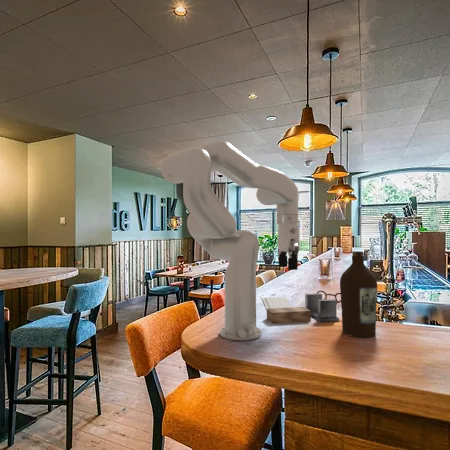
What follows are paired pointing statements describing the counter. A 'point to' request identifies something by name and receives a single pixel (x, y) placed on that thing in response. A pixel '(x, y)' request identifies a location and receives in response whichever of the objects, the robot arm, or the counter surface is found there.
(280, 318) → the shelf board
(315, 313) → the grey flat-based fixture
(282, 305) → the baseboard molding
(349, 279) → the olive oil
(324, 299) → the glasses
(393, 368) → the counter surface
